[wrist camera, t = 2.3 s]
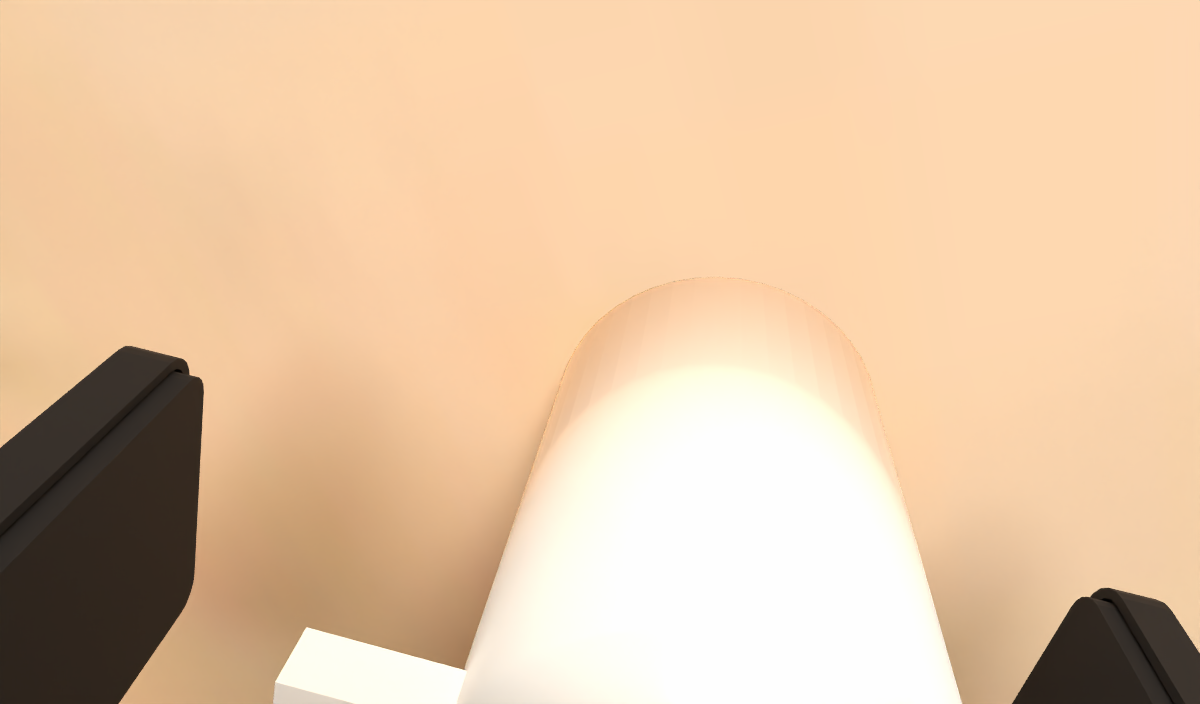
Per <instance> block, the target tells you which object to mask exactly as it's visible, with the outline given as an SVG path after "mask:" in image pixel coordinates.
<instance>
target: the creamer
mask: <svg viewBox="0 0 1200 704" xmlns="http://www.w3.org/2000/svg"><path fill="white" fill-rule="evenodd" d="M273 704H962V702H961V698H960V695H959V691H958V688H957V684H956V681H955V677H954V674H953V670H952V667H951V663H950V659H949V656H948V652H947V649H946V645H945V642H944V638H943V635H942V631H941V628H940V624H939V621H938V617H937V613H936V610H935V606H934V603H933V599H932V596H931V592H930V589H929V585H928V582H927V578H926V575H925V571H924V568H923V564H922V560H921V557H920V553H919V550H918V546H917V543H916V539H915V536H914V532H913V529H912V525H911V522H910V518H909V514H908V511H907V507H906V504H905V500H904V497H903V493H902V490H901V486H900V483H899V479H898V476H897V472H896V468H895V465H894V461H893V458H892V454H891V451H890V447H889V444H888V440H887V437H886V433H885V430H884V426H883V423H882V419H881V415H880V412H879V408H878V405H877V401H876V398H875V394H874V391H873V387H872V384H871V380H870V377H869V374H868V372H867V370H866V367H865V365H864V363H863V361H862V358H861V357H860V355H859V354H858V352H857V351H856V349H855V347H854V346H853V344H852V343H851V341H850V340H849V339H848V338H847V337H846V335H845V334H844V333H843V332H842V331H841V330H840V329H839V327H838V326H837V325H836V324H834V323H833V322H832V321H831V320H830V319H829V318H828V317H826V316H825V315H824V314H823V313H822V312H821V311H819V310H817V309H816V308H814V307H813V306H811V305H810V304H808V303H807V302H805V301H804V300H802V299H800V298H798V297H796V296H794V295H792V294H790V293H787V292H785V291H783V290H780V289H777V288H775V287H772V286H769V285H766V284H763V283H758V282H753V281H748V280H743V279H736V278H724V277H706V278H692V279H686V280H680V281H674V282H670V283H667V284H664V285H660V286H657V287H653V288H651V289H649V290H646V291H644V292H642V293H639V294H637V295H635V296H633V297H631V298H629V299H628V300H626V301H624V302H623V303H621V304H619V305H618V306H616V307H615V308H613V309H612V310H611V311H610V312H608V313H607V314H606V315H605V316H603V317H602V318H601V319H600V320H599V321H598V322H597V323H596V324H595V325H594V326H593V327H592V328H591V329H590V330H589V331H588V332H587V333H586V335H585V336H584V338H583V339H582V340H581V342H580V343H579V345H578V346H577V347H576V349H575V351H574V353H573V354H572V356H571V358H570V360H569V362H568V364H567V366H566V369H565V372H564V375H563V378H562V381H561V384H560V387H559V390H558V393H557V396H556V399H555V402H554V405H553V408H552V411H551V414H550V417H549V420H548V423H547V426H546V429H545V431H544V434H543V437H542V440H541V443H540V446H539V449H538V452H537V455H536V458H535V461H534V464H533V467H532V470H531V473H530V476H529V479H528V482H527V485H526V488H525V491H524V493H523V496H522V499H521V502H520V505H519V508H518V511H517V514H516V517H515V520H514V523H513V526H512V529H511V532H510V535H509V538H508V541H507V544H506V547H505V550H504V553H503V556H502V558H501V561H500V564H499V567H498V570H497V573H496V576H495V579H494V582H493V585H492V588H491V591H490V594H489V597H488V600H487V603H486V606H485V609H484V612H483V615H482V618H481V621H480V623H479V626H478V629H477V632H476V635H475V638H474V641H473V644H472V647H471V650H470V653H469V656H468V659H467V662H466V665H465V668H464V670H462V669H458V668H455V667H451V666H447V665H444V664H440V663H436V662H433V661H429V660H425V659H422V658H418V657H414V656H411V655H407V654H403V653H399V652H396V651H392V650H388V649H385V648H381V647H377V646H374V645H370V644H366V643H363V642H359V641H355V640H352V639H348V638H344V637H340V636H337V635H333V634H329V633H326V632H322V631H318V630H315V629H311V628H307V627H306V629H305V631H304V632H303V634H302V636H301V638H300V639H299V641H298V643H297V645H296V646H295V648H294V650H293V652H292V653H291V655H290V657H289V659H288V660H287V662H286V664H285V666H284V667H283V669H282V671H281V673H280V675H279V676H278V678H277V680H276V682H275V689H274V698H273Z"/></svg>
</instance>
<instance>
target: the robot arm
mask: <svg viewBox="0 0 1200 704" xmlns="http://www.w3.org/2000/svg"><path fill="white" fill-rule="evenodd" d="M203 395H204V389H203V383H202V380H201V379H200V378H199V377H195V376H191V375H189V368H188V365H187V362H186V361H185V360H183V359H181V358H177V357H173V356H169V355H165V354H161V353H157V352H153V351H149V350H145V349H141V348H137V347H133V346H125V347H123V348H121V349H119V350H118V351H117V352H115V353H114V354H113V355H112V356H111V357H109V358H108V359H107V360H106V361H104V362H103V363H102V364H101V365H100V366H98V367H97V368H96V369H95V370H94V371H92V372H91V373H90V374H89V375H88V376H86V377H85V378H84V379H83V380H82V381H80V382H79V383H78V384H77V385H76V386H74V387H73V388H72V389H71V390H70V391H68V392H67V393H66V394H65V395H63V396H62V397H61V398H60V399H59V400H57V401H56V402H55V403H54V404H53V405H51V406H50V407H49V408H48V409H47V410H45V411H44V412H43V413H42V414H41V415H39V416H38V417H37V418H36V419H35V420H33V421H32V422H31V423H30V424H29V425H27V426H26V427H25V428H24V429H22V430H21V431H20V432H19V433H18V434H16V435H15V436H14V437H13V438H12V439H10V440H9V441H8V442H7V443H6V444H4V445H3V446H2V447H1V448H0V704H119V702H120V701H121V699H122V698H123V696H124V695H125V693H126V692H127V691H128V689H129V688H130V686H131V685H132V683H133V682H134V680H135V679H136V677H137V676H138V675H139V673H140V672H141V670H142V669H143V667H144V666H145V664H146V663H147V662H148V660H149V659H150V657H151V656H152V654H153V653H154V651H155V650H156V648H157V647H158V646H159V644H160V643H161V641H162V640H163V638H164V637H165V635H166V634H167V633H168V631H169V630H170V628H171V627H172V625H173V624H174V622H175V621H176V619H177V618H178V617H179V615H180V614H181V612H182V610H183V609H184V607H185V605H186V603H187V600H188V598H189V595H190V592H191V589H192V585H193V580H194V570H195V550H196V531H197V512H198V492H199V473H200V454H201V434H202V415H203ZM1012 704H1200V653H1199V652H1198V650H1197V649H1196V647H1195V646H1194V644H1193V643H1192V641H1191V640H1190V638H1189V636H1188V635H1187V633H1186V632H1185V630H1184V629H1183V627H1182V626H1181V624H1180V623H1179V621H1178V620H1177V618H1176V617H1175V615H1174V614H1173V612H1172V611H1171V610H1170V608H1169V607H1168V606H1167V605H1166V604H1165V603H1163V602H1161V601H1158V600H1156V599H1152V598H1148V597H1144V596H1140V595H1135V594H1131V593H1127V592H1123V591H1119V590H1115V589H1111V588H1101V589H1099V590H1098V591H1096V592H1094V593H1093V594H1092V595H1091V597H1081V598H1080V599H1078V600H1077V601H1076V602H1075V603H1074V604H1073V605H1072V607H1071V608H1070V610H1069V612H1068V613H1067V615H1066V617H1065V618H1064V620H1063V621H1062V623H1061V625H1060V626H1059V628H1058V630H1057V631H1056V633H1055V634H1054V636H1053V638H1052V639H1051V641H1050V643H1049V644H1048V646H1047V648H1046V649H1045V651H1044V652H1043V654H1042V656H1041V657H1040V659H1039V661H1038V662H1037V664H1036V665H1035V667H1034V669H1033V670H1032V672H1031V674H1030V675H1029V677H1028V679H1027V680H1026V682H1025V683H1024V685H1023V687H1022V688H1021V690H1020V692H1019V693H1018V695H1017V697H1016V698H1015V700H1014V701H1013V703H1012Z"/></svg>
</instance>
